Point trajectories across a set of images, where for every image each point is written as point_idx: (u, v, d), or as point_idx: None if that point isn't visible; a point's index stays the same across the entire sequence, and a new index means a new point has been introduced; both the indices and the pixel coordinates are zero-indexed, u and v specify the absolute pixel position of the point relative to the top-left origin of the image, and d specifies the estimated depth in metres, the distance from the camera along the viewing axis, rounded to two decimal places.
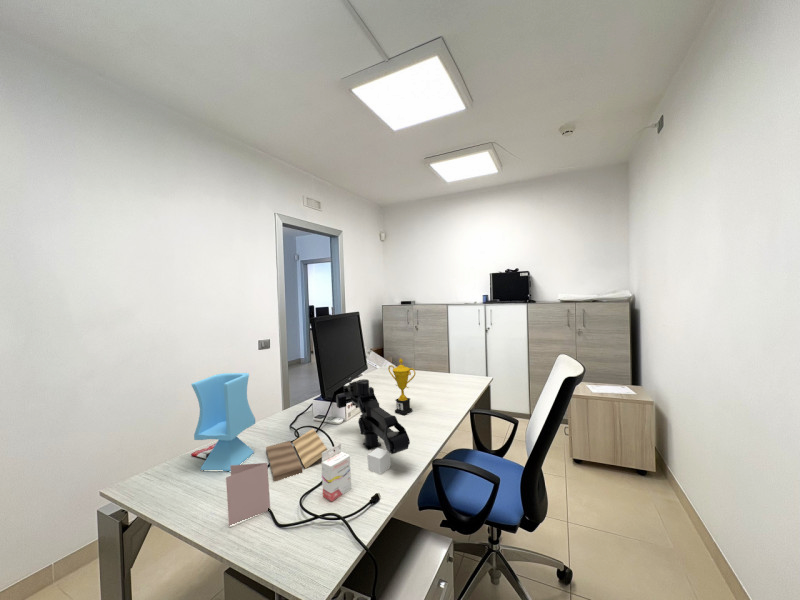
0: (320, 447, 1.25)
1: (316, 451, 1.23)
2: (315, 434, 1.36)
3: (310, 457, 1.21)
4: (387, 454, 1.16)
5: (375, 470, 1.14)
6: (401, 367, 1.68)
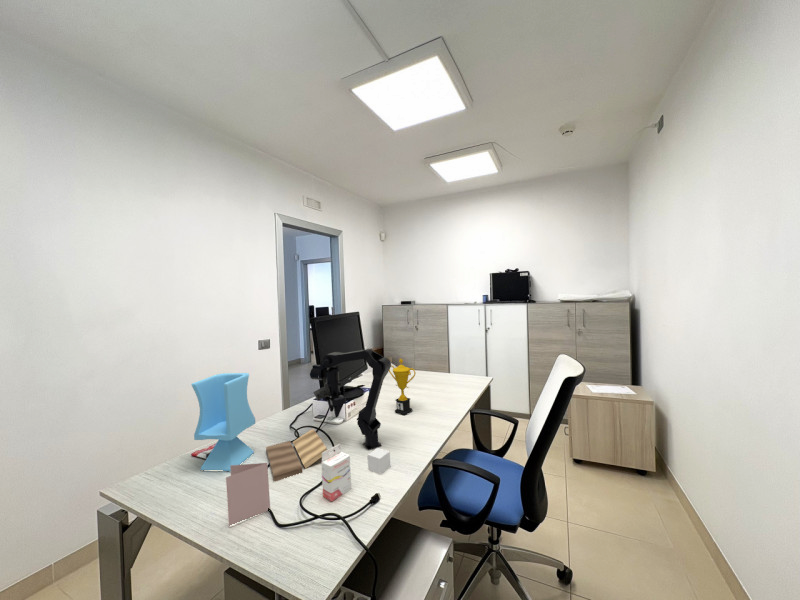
0: (320, 447, 1.25)
1: (316, 451, 1.23)
2: (315, 434, 1.36)
3: (310, 457, 1.21)
4: (387, 454, 1.16)
5: (375, 470, 1.14)
6: (401, 367, 1.68)
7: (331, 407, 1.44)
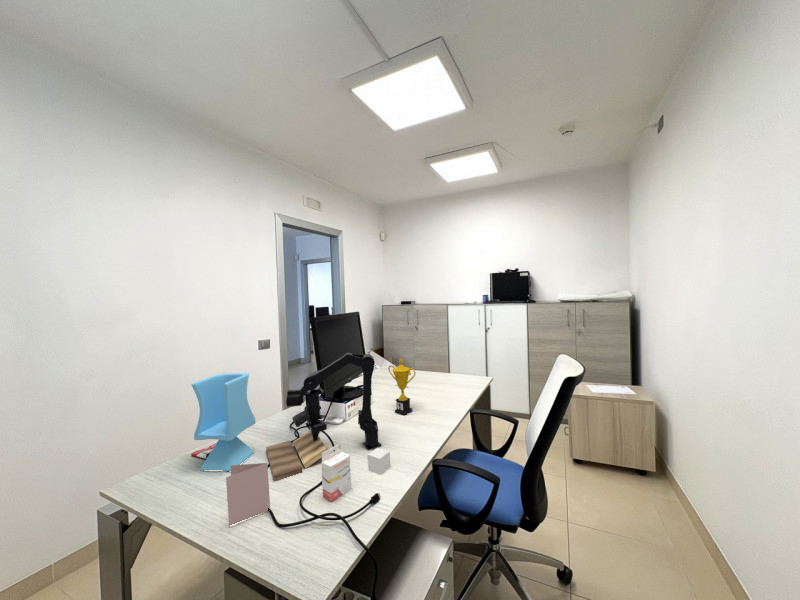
0: (320, 447, 1.25)
1: (316, 451, 1.23)
2: None
3: (310, 457, 1.21)
4: (387, 454, 1.16)
5: (375, 470, 1.14)
6: (401, 367, 1.68)
7: None
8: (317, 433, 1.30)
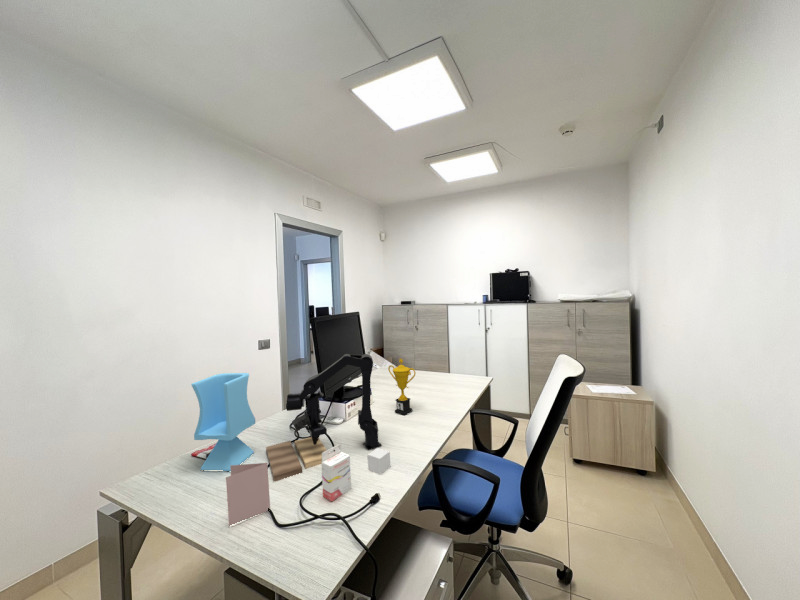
0: None
1: (319, 456, 1.23)
2: (319, 441, 1.36)
3: (313, 459, 1.21)
4: (387, 454, 1.16)
5: (375, 470, 1.14)
6: (401, 367, 1.68)
7: None
8: (317, 437, 1.30)
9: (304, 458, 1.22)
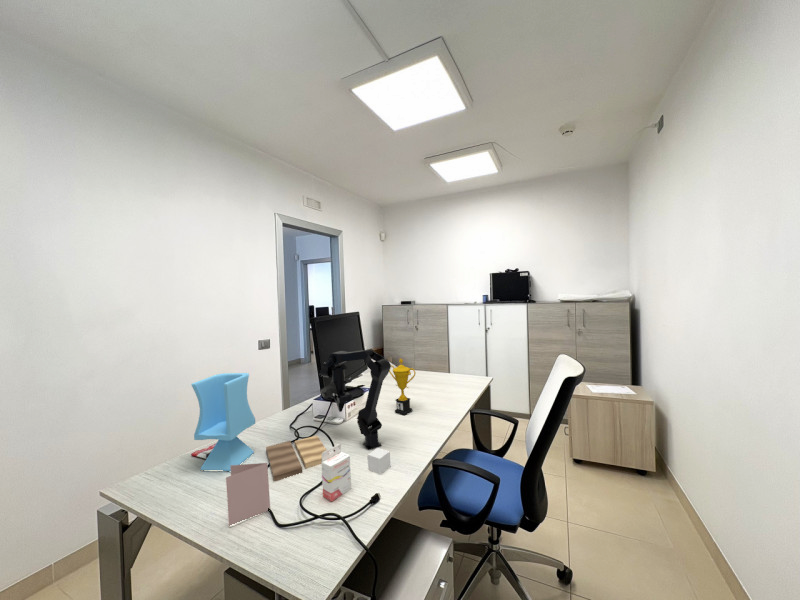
0: None
1: (319, 456, 1.23)
2: (319, 441, 1.36)
3: (313, 459, 1.21)
4: (387, 454, 1.16)
5: (375, 470, 1.14)
6: (401, 367, 1.68)
7: None
8: (342, 405, 1.43)
9: (304, 458, 1.22)
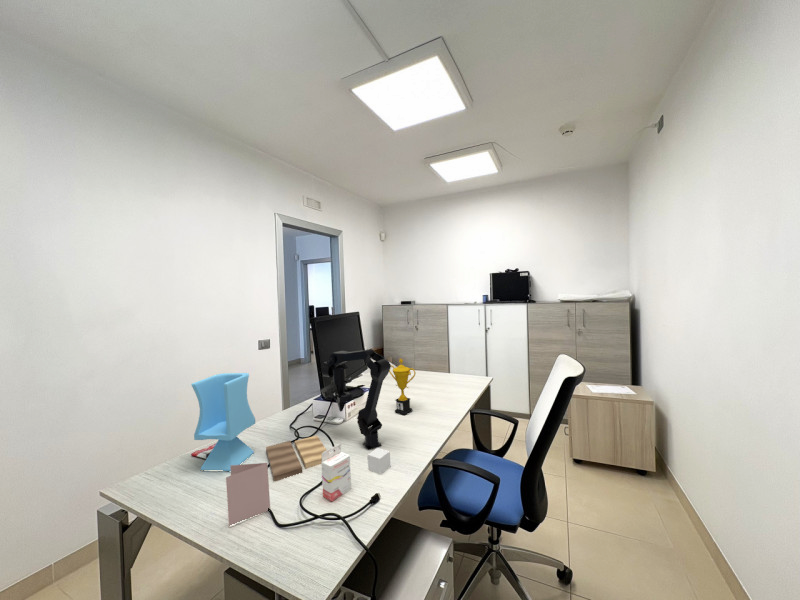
0: None
1: (319, 456, 1.23)
2: (319, 441, 1.36)
3: (313, 459, 1.21)
4: (387, 454, 1.16)
5: (375, 470, 1.14)
6: (401, 367, 1.68)
7: None
8: (343, 404, 1.43)
9: (304, 458, 1.22)
